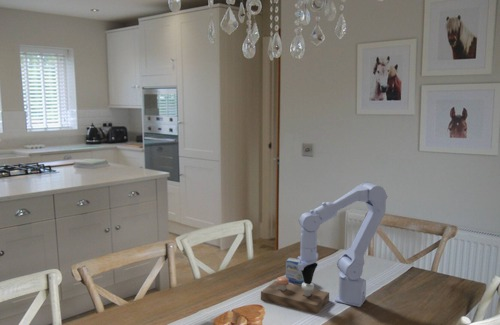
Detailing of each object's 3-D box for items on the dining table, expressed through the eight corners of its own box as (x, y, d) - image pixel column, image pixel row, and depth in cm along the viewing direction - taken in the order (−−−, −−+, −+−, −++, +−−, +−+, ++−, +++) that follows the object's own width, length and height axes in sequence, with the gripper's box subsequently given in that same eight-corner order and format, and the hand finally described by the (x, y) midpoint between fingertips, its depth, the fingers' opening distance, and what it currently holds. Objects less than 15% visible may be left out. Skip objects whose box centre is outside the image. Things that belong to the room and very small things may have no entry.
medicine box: (285, 280, 178) (285, 260, 177) (289, 276, 182) (289, 256, 181) (303, 284, 175) (303, 263, 174) (307, 280, 179) (307, 260, 178)
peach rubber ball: (290, 288, 163) (290, 278, 163) (285, 292, 160) (285, 282, 159) (280, 286, 166) (280, 275, 165) (274, 290, 162) (274, 279, 161)
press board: (329, 300, 160) (329, 292, 160) (317, 313, 150) (317, 305, 150) (275, 287, 171) (275, 280, 171) (260, 299, 161) (260, 291, 160)
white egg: (315, 294, 158) (315, 283, 158) (311, 298, 155) (311, 287, 154) (304, 291, 161) (304, 281, 160) (299, 296, 157) (299, 285, 156)
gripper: (306, 239, 164) (305, 274, 165) (289, 250, 151) (289, 287, 153) (324, 242, 160) (323, 278, 162) (308, 253, 148) (307, 292, 149)
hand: (307, 283), depth 157 cm, fingers closed
